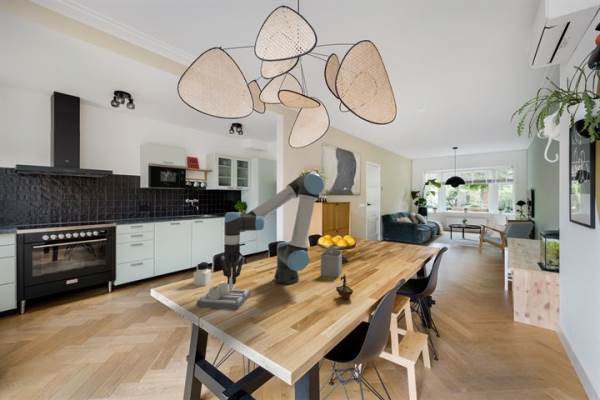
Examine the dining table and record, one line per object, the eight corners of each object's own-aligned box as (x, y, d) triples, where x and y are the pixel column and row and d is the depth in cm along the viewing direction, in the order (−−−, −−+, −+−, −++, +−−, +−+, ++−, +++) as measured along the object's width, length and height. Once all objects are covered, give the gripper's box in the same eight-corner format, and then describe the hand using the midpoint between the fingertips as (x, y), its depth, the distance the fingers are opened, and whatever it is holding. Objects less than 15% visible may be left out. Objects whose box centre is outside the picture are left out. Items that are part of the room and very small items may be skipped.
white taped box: (229, 291, 121) (229, 280, 121) (226, 293, 118) (226, 283, 118) (222, 290, 122) (222, 280, 122) (219, 293, 118) (219, 282, 118)
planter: (327, 279, 147) (327, 248, 147) (320, 275, 154) (320, 245, 154) (348, 276, 154) (348, 246, 154) (341, 272, 161) (341, 244, 161)
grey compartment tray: (250, 295, 122) (250, 288, 122) (238, 309, 106) (238, 302, 106) (213, 292, 125) (213, 286, 125) (196, 306, 109) (196, 299, 109)
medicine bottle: (211, 281, 141) (211, 261, 141) (205, 285, 134) (205, 264, 134) (199, 281, 142) (199, 260, 142) (193, 285, 135) (193, 264, 135)
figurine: (356, 301, 116) (356, 276, 116) (341, 303, 114) (342, 278, 114) (346, 293, 126) (347, 270, 126) (333, 295, 123) (333, 271, 123)
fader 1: (220, 297, 114) (221, 286, 114) (217, 300, 110) (217, 289, 110) (213, 296, 114) (213, 286, 114) (209, 300, 110) (209, 288, 110)
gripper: (247, 242, 122) (246, 288, 122) (223, 241, 124) (222, 286, 124) (241, 245, 115) (241, 294, 115) (216, 244, 116) (215, 292, 116)
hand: (231, 290), depth 119 cm, fingers closed
